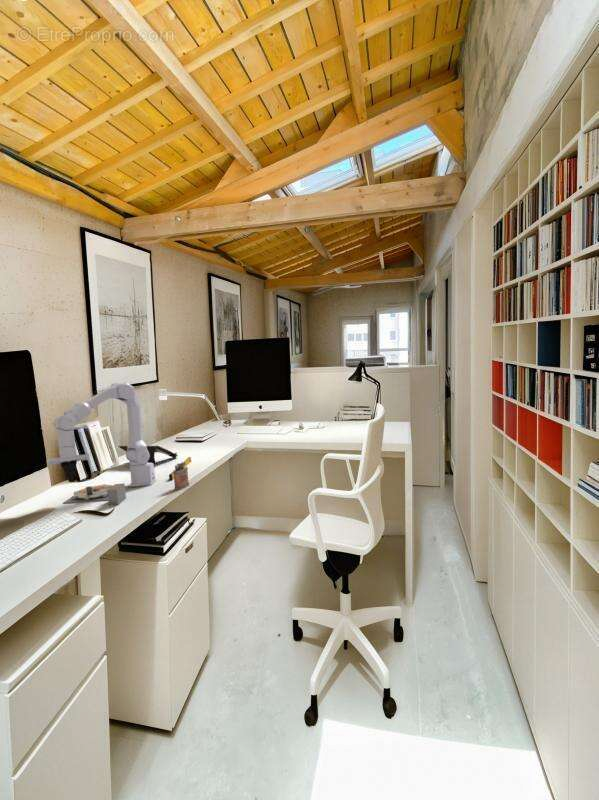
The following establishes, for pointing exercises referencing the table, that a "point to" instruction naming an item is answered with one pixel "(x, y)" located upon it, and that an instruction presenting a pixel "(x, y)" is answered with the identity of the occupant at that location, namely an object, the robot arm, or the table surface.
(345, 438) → the table surface
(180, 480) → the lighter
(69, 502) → the base plate
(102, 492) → the sprocket
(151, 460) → the portable electronic device stand
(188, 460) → the spirit level
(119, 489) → the orange striped gray block
